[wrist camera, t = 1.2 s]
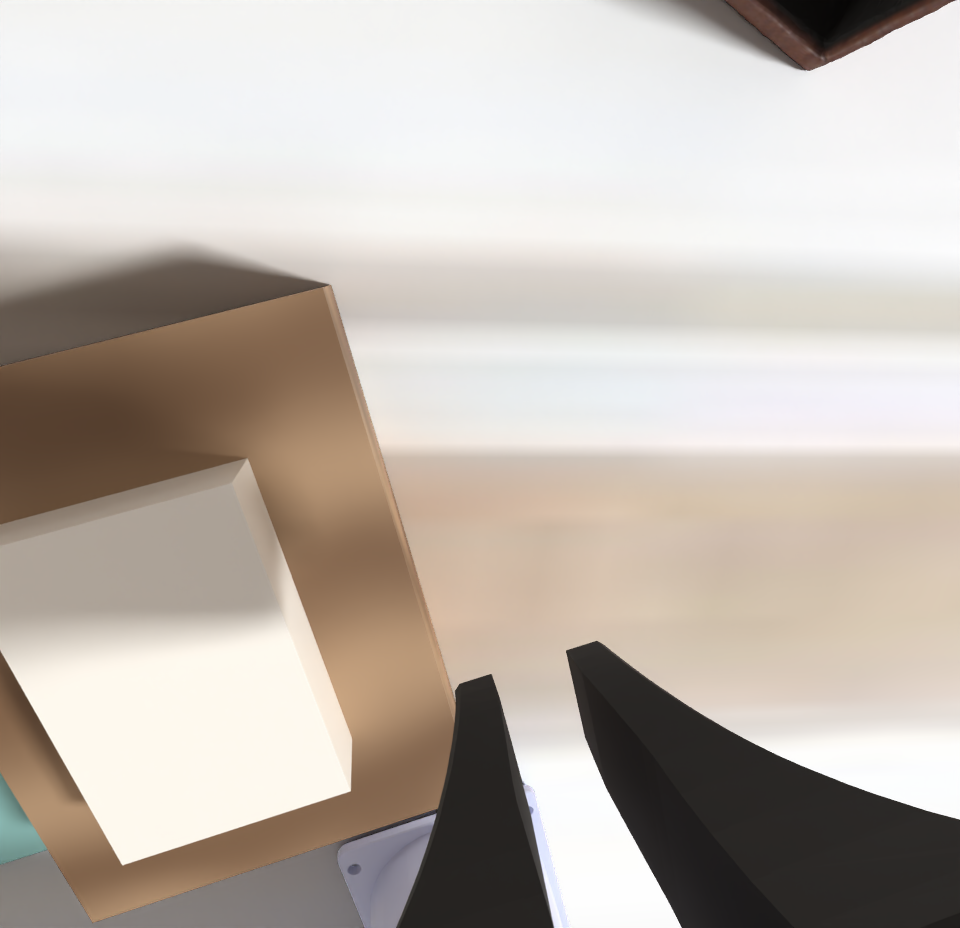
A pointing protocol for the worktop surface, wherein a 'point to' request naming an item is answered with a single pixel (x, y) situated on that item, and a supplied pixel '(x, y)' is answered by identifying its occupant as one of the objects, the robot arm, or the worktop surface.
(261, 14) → the worktop surface
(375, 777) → the board
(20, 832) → the mat
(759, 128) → the worktop surface
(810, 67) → the letter holder
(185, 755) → the cream white block
